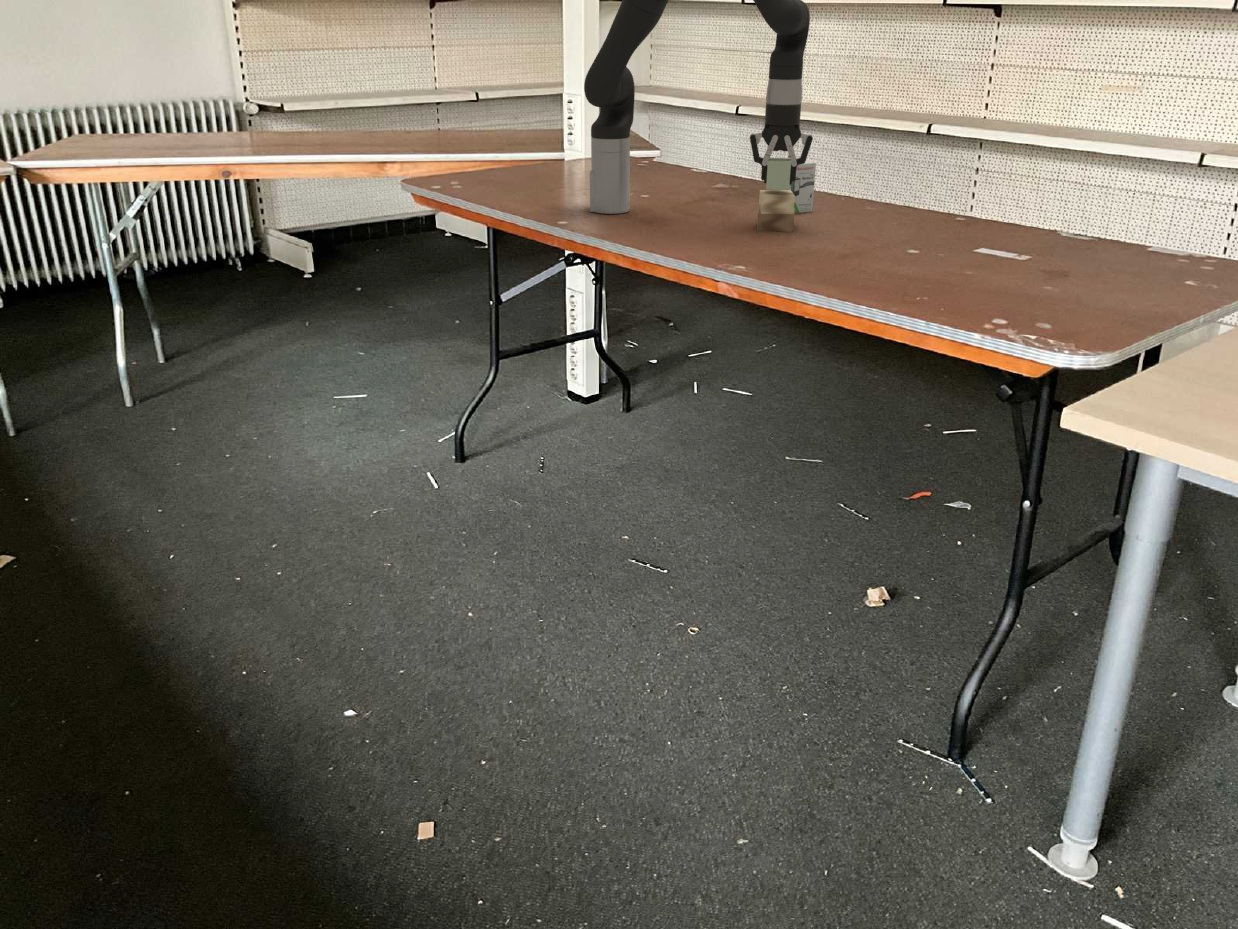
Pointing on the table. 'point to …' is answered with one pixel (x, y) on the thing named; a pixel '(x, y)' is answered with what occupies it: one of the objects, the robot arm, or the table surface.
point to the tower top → (776, 202)
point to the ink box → (803, 187)
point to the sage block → (778, 173)
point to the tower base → (775, 222)
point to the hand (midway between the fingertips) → (778, 182)
